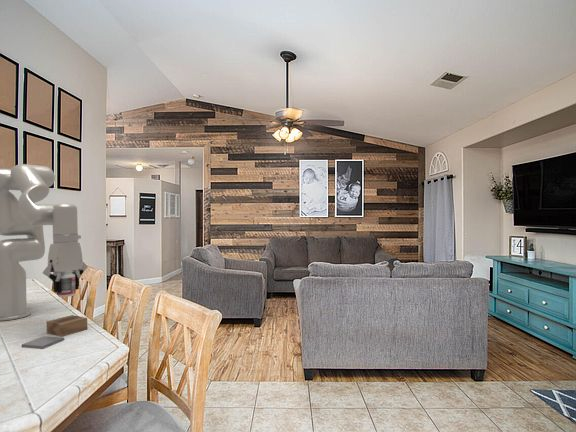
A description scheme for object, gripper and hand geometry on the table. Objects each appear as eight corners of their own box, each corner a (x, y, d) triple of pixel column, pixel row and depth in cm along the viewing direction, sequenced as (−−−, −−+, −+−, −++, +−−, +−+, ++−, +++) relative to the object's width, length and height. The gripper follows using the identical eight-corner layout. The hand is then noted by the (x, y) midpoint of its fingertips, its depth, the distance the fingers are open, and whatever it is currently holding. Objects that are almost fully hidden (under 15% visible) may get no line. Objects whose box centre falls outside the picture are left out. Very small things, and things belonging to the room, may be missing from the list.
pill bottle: (76, 296, 129) (75, 268, 129) (58, 298, 126) (57, 269, 126) (75, 293, 133) (74, 266, 133) (57, 295, 131) (57, 268, 130)
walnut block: (46, 332, 128) (46, 321, 128) (72, 325, 136) (72, 315, 136) (61, 336, 124) (61, 324, 124) (87, 329, 132) (87, 317, 132)
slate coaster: (21, 346, 114) (21, 344, 114) (44, 338, 122) (44, 336, 122) (42, 348, 112) (42, 346, 112) (64, 340, 120) (64, 337, 120)
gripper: (82, 237, 139) (83, 285, 139) (33, 240, 124) (34, 294, 124) (95, 237, 135) (96, 287, 135) (45, 241, 120) (46, 296, 120)
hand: (66, 290), depth 130 cm, fingers closed on pill bottle, 5 cm apart
